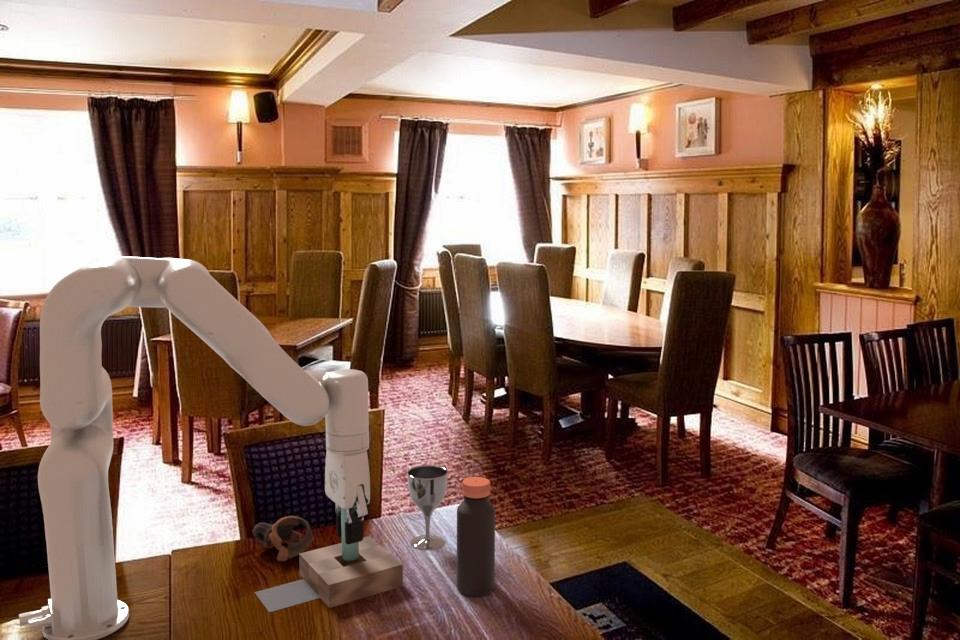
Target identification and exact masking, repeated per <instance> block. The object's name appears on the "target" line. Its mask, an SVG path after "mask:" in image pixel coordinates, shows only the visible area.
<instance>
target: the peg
mask: <svg viewBox="0 0 960 640" xmlns="http://www.w3.org/2000/svg"><path fill="white" fill-rule="evenodd" d="M355 503H356V502H354V504H355ZM356 510H357V509H352V510H351V511H352V513H353V512H354V511H356ZM345 522H347V517H346V510H344V509H342V508H341V532H342V536H341V543H342V558H343V559H344V560H348V561H351V560H355V559H357V558H358V557H359V542H356V543H352V544H346V543H345Z"/></svg>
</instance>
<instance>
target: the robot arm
mask: <svg viewBox="0 0 960 640" xmlns="http://www.w3.org/2000/svg"><path fill="white" fill-rule="evenodd" d="M126 308H157V309H158V308H164V309H165V308H166V309H167V310H168V311H169V312H170V313H171V314H172V315H173V316H175V318H176V319H177V320H179V321H180V322H181V323H182V324H183V325H185V326H186V327H187V328H188V329H189V330H191V332H193V333H194V334H195V335H196V336H197V337H199V338H200V340H202V341H203V343H205V344H206V345H207V346H208V347H209V348H211V350H212V351H214V352H215V353H216V354H217V355H218V356H220V358H222V359H223V360H224V361H225V363H226V364H227V365H228V366H229V367H230V368H232V369H233V370H234V371H235V372H236V373H237V374H239V375H240V377H241V378H242V379H244V380H245V381H246V382H247V383H248V384H249V385H250V386H251V387H252V388H253V389H254V390H255V391H256V392H257V393H259V394H260V396H261V397H262V398H264V399H265V400H266V401H267V402H268V403H269V404H270V405H272V407H274V408H275V409H276V410H277V411H278V412H280V413H281V414H282V415H283V416H284V417H285V418H286V419H287V420H289V421H290V422H292V423H294V424H296V425H299V426H305V427H306V426H312V425H316V424H317V423H319V422H321V421H322V420H323V419H324V418H325V450H326V455H325V464H324V465H325V466H324V469H325V470H324V492H325V495H326V497H328V498H329V499H330V500H331V501H332V502H334V503H335V505H334V506H335V514H336V519H335V520H336V536H338V537H339V538H340V537H341V538H342V532H341V508H342V509H344V510H346V517H347V522H345V543H346V544H352V543H356V542H360V541H362V540H363V537H364V529H363V528H364V525H363V523H364V522H363V521H364V517H365V516H367V515H368V514H369V513H368V512H369V511H368V507H367V506H368V505H369V504H370V501H371V479H370V477H371V476H370V467H369V466H370V465H369V458H368V450H369V448H370V429H369V427H370V423H369V421H370V420H369V419H370V418H369V417H370V416H369V414H370V413H369V380H368V375H367V374H366V373H365V372H364V371H362V370H358V369H349V368H348V369H344V368H343V369H336V370H333V371H322V370H321V371H320V370H308V369H307V370H306V369H303V368H302V367H301V366H300V365H299V364H298V363H297V362H296V361H294V359H293V358H292V357H291V356H290V355H289V354H288V353H286V351H285V350H284V349H283V347H281V346H280V345H279V343H278V342H277V341H276V340H275V339H274V338H273V336H272V334H271V333H270V331H269V330H268V329H267V328H266V326H265V325H264V324H263V323H262V321H260V320H259V319H258V318H257V317H256V316H255V315H254V314H253V313H252V312H250V311H249V309H247V307H246V306H244V305H243V304H242V303H241V302H240V301H239V300H238V299H236V298H235V297H234V296H233V295H232V294H231V293H230V292H229V291H228V290H227V289H226V288H224V286H223V285H221V284H220V283H219V282H218V281H217V280H216V279H215V278H214V277H213V276H212V275H211V274H210V272H209V270H208V269H207V268H206V266H204V265H203V264H202V263H200V262H198V261H196V260H194V259H187V258H160V257H158V258H157V257H142V256H141V257H140V256H122V255H107V256H104V257H100V258H97V259H95V260H94V261H91V262H90V263H88V264H86V265H84V266H82V267H80V268H78V269H76V270H74V271H72V272H71V273H69V274H67V275H66V276H64V277H63V278H62V279H61V280H59V281H58V282H56V283H55V285H53V287H52V288H51V289H50V291H49V292H48V294H47V295H46V297H45V299H44V302H43V304H42V307H41V309H40V310H41V311H40V318H39V377H40V384H39V385H40V386H39V389H40V390H39V405H40V410H41V412H42V415H43V417H44V418H45V420H46V421H47V422H48V423H49V424H50V425H49V426H50V427H49V428H50V443H49V445H48V447H47V448H46V450H45V452H44V453H43V455H42V457H41V460H40V462H39V465H38V471H37V485H38V494H39V497H40V502H41V508H42V514H43V521H44V522H43V523H44V533H45V541H46V554H47V564H48V565H47V567H48V579H49V590H50V598H48V599H47V605H44V606H41V609H38V610H37V609H36V610H33V611H28V612H27V611H26V612H22V613H19V614H18V618H19V627H20V628H22V627H24V626H28V627H29V631H32V630H35V629H36V630H37V629H40V628H42V635H43V638H44V639H45V638H46V639H48V640H99V639H103V638H106V637H107V636H109V635H111V634H114V633H115V632H116V631H118V630H120V629H121V628H122V627H123V626H124V625H125V624H126V623H127V622H128V619H129V617H130V609H129V606H128V604H126V603H125V602H123V601H121V600H119V599H118V590H117V589H118V588H117V574H116V573H117V572H116V557H115V546H114V532H113V531H114V530H113V528H114V527H113V518H112V516H113V515H112V507H111V498H110V489H109V468H110V466H111V465H110V464H111V460H112V457H113V453H114V417H113V414H114V410H113V408H114V407H113V386H112V380H111V378H110V375H109V373H108V372H107V370H106V369H105V368H104V367H103V365H102V361H103V360H102V354H103V353H102V351H103V349H102V348H103V342H102V326H103V324H104V322H105V320H106V319H107V318H108V317H110V316H113V315H115V314H116V313H117V314H118V313H119V312H121V311H123V310H125V309H126ZM354 502H356V503H355V504H354ZM352 509H357V510H356V511H354V512H353V513H352V511H351V510H352ZM46 639H45V640H46Z"/></svg>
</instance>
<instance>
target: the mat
mask: <svg viewBox="0 0 960 640" xmlns="http://www.w3.org/2000/svg"><path fill="white" fill-rule="evenodd" d="M254 594H255V595H256V596H257V598H258V599H259V601H260V602H261V604H262V605H263V606H264V607H265V609H266V610H267V611H268V613H273V612H276V611H280V610H283V609H286V608H290V607H294V606H297V605H301V604H304V603H307V602H310V601H314V600H318V599H321V598H320V597H319V596H318V595H317V593H316V592H315V591H314V590H313V589H312V588H311V587H310V586H309V584H308V583H307V582H306V581H305V580H304V579H303V578H302V579H299V580H296V581H295V580H294V581H290V582H288V583H283V584H280V585H277V586H272V587H269V588H265V589H262V590H259V591H255V592H254Z"/></svg>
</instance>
